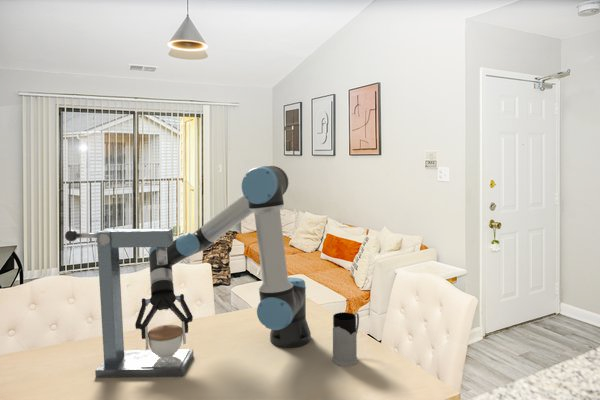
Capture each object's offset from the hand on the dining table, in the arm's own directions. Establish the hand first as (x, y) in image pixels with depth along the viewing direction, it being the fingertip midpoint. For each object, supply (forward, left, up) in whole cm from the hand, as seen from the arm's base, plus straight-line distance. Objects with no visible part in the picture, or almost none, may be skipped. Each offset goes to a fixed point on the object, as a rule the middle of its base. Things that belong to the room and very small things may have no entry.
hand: (166, 345), depth 138 cm
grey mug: (-59, -8, -9) cm, 60 cm away
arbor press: (+13, -3, -8) cm, 15 cm away
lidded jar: (+1, -3, -4) cm, 5 cm away
